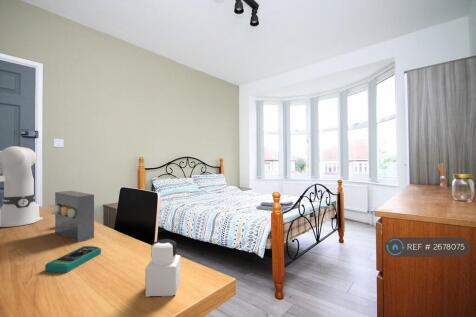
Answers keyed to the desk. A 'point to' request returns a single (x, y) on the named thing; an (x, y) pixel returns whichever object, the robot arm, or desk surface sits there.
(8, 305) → the desk surface
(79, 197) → the control box
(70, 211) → the sage button
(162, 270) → the medicine bottle
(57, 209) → the cream button
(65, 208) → the orange button
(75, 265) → the digital multimeter
